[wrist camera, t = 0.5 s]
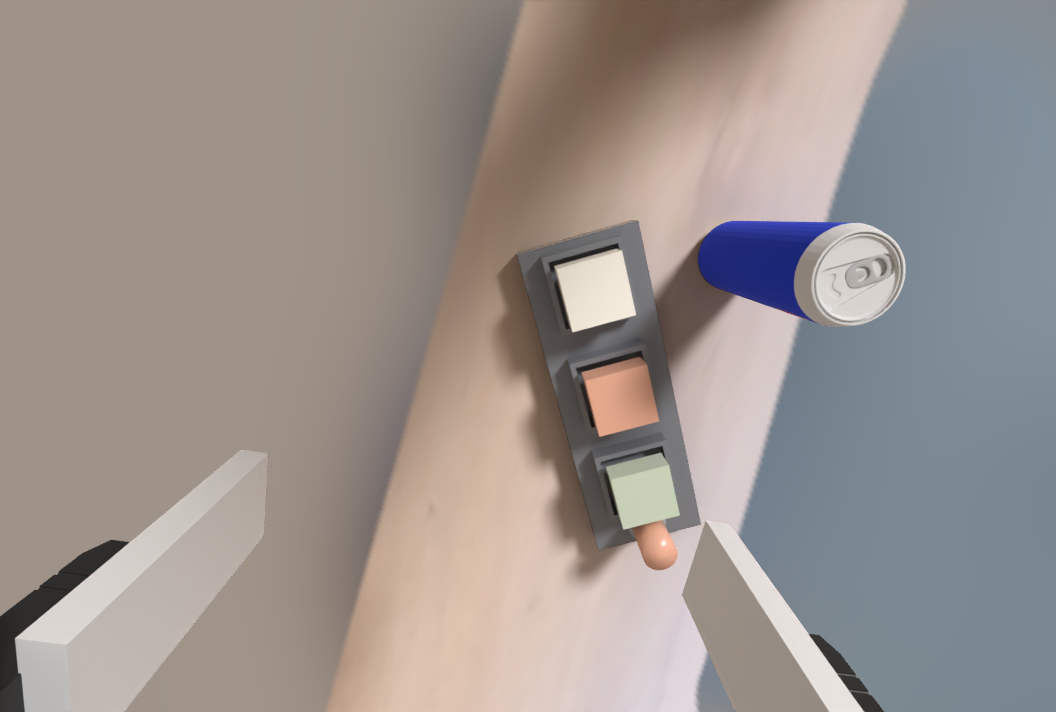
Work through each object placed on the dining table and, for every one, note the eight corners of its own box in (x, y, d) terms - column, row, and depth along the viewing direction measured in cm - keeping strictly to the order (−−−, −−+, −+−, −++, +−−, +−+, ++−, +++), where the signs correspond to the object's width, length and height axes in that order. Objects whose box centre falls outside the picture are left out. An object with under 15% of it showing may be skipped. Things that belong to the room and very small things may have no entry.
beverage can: (707, 299, 39) (820, 347, 25) (686, 238, 38) (792, 251, 23) (770, 272, 39) (922, 305, 24) (750, 209, 37) (899, 204, 23)
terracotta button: (581, 372, 36) (585, 381, 34) (639, 356, 36) (647, 364, 34) (595, 425, 37) (599, 436, 36) (651, 410, 37) (659, 421, 35)
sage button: (605, 466, 38) (610, 480, 36) (661, 452, 38) (669, 465, 36) (618, 514, 40) (623, 529, 38) (671, 500, 39) (679, 515, 37)
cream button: (554, 266, 34) (556, 269, 32) (616, 248, 34) (622, 250, 32) (569, 326, 35) (572, 332, 33) (629, 309, 35) (636, 315, 33)
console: (516, 252, 38) (516, 259, 31) (631, 220, 37) (655, 220, 31) (595, 535, 45) (608, 588, 38) (692, 511, 44) (722, 560, 38)
